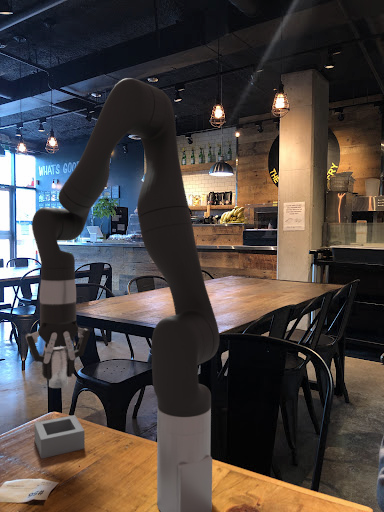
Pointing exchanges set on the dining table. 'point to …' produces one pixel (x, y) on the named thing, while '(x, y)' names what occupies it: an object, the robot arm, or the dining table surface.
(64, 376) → the peg
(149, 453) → the dining table surface
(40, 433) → the box
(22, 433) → the dining table surface
